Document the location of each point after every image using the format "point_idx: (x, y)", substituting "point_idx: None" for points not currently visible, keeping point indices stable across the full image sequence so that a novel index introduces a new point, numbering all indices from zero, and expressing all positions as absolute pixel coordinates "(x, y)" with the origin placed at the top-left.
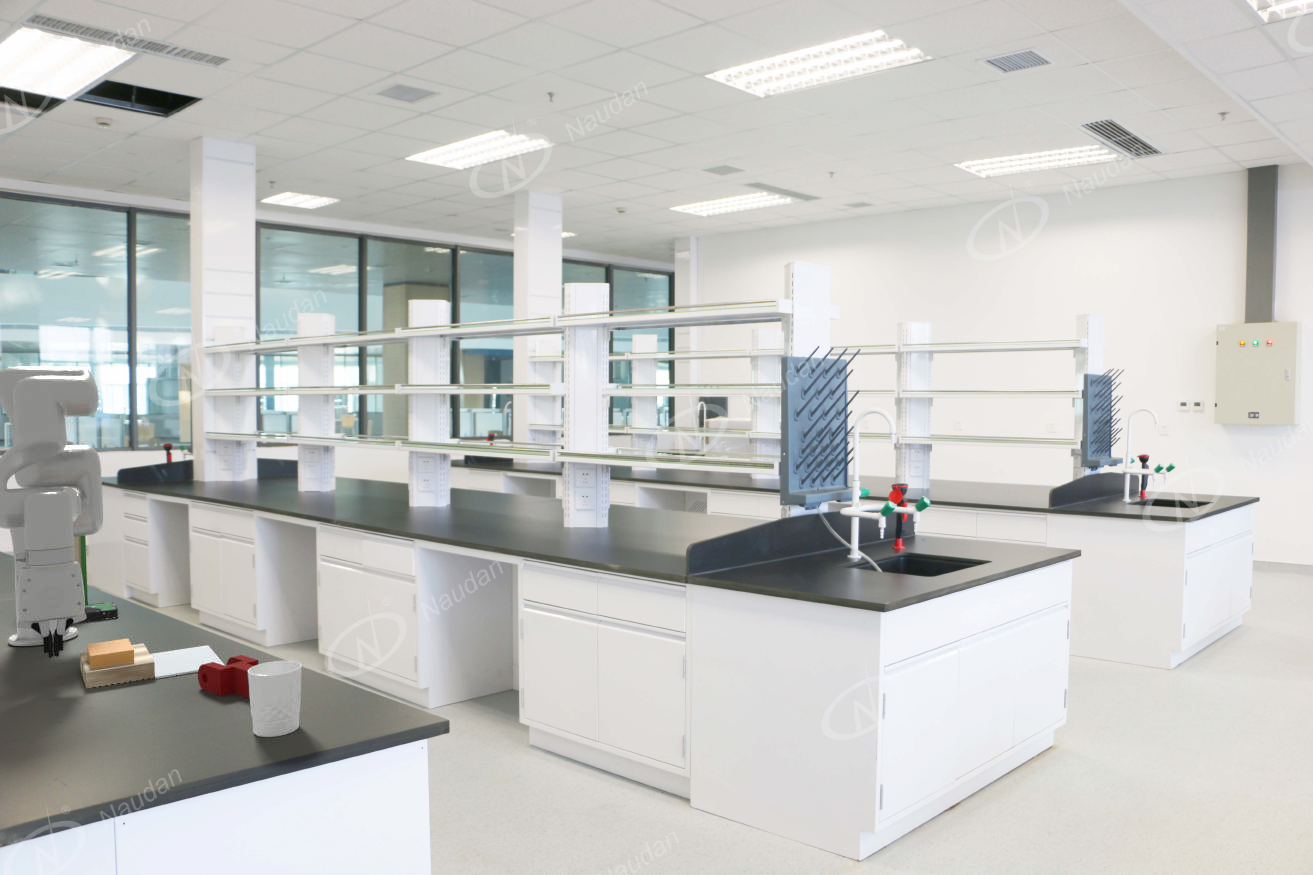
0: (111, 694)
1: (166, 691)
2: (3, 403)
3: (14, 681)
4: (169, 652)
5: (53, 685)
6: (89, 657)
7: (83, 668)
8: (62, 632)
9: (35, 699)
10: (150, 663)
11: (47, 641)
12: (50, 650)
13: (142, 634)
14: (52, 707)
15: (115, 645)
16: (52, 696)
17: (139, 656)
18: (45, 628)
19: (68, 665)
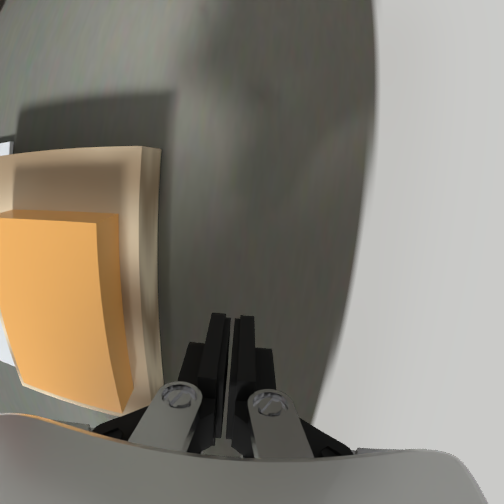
0: (118, 46)
1: (32, 19)
2: None
3: (321, 378)
4: (2, 351)
5: (242, 269)
6: (109, 281)
7: (144, 273)
8: (172, 392)
9: (311, 137)
10: None
11: (256, 377)
12: (246, 331)
13: None
14: (278, 19)
15: (34, 328)
16: (263, 133)
17: None
18: (270, 429)
19: None
